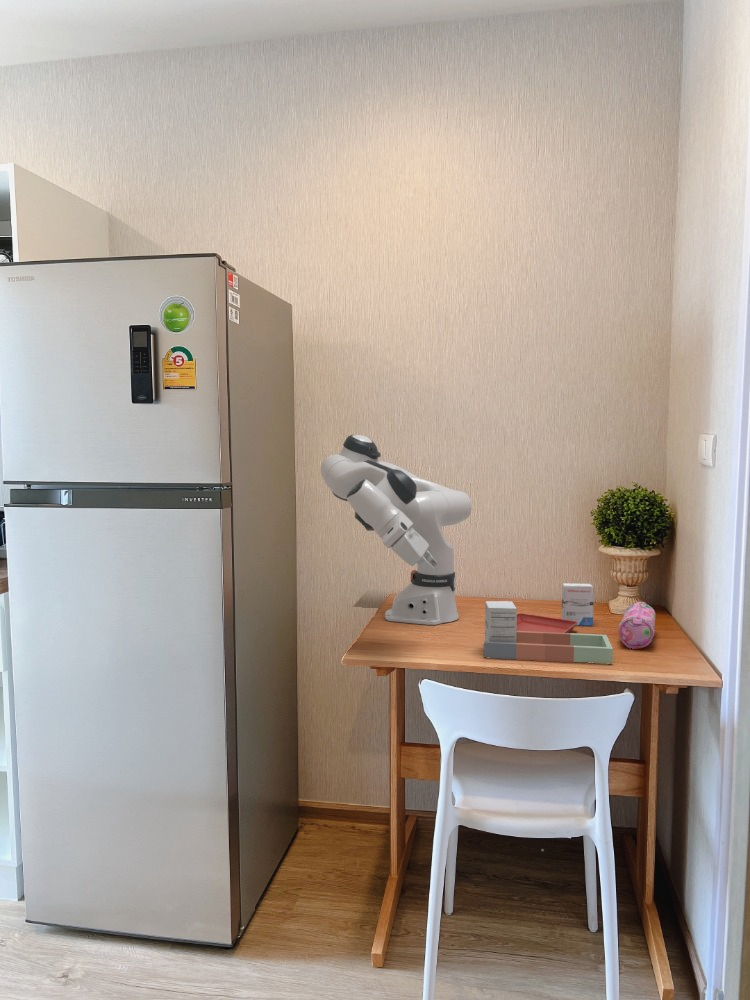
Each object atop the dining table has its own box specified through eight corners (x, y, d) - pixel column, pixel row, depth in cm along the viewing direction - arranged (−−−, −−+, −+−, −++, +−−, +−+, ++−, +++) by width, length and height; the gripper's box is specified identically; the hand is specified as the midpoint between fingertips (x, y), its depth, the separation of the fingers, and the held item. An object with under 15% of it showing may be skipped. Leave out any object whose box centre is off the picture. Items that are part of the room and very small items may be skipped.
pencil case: (623, 628, 216) (624, 597, 215) (657, 631, 213) (658, 600, 212) (615, 648, 197) (616, 615, 196) (652, 652, 193) (654, 618, 192)
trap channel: (483, 658, 189) (484, 642, 188) (485, 643, 201) (485, 629, 201) (612, 664, 183) (612, 648, 183) (605, 649, 195) (606, 634, 195)
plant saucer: (578, 632, 213) (578, 620, 213) (557, 648, 198) (558, 636, 198) (518, 623, 223) (518, 612, 223) (494, 638, 208) (494, 626, 207)
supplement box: (484, 647, 198) (484, 600, 197) (512, 647, 198) (513, 600, 196) (487, 656, 191) (488, 607, 189) (516, 656, 190) (517, 607, 189)
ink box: (590, 621, 223) (591, 582, 222) (593, 626, 218) (594, 586, 217) (561, 621, 224) (561, 582, 223) (563, 625, 219) (564, 586, 218)
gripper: (394, 533, 207) (429, 568, 206) (382, 545, 187) (421, 584, 186) (410, 517, 205) (446, 553, 205) (399, 527, 185) (439, 567, 185)
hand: (434, 568), depth 195 cm, fingers open, 6 cm apart
